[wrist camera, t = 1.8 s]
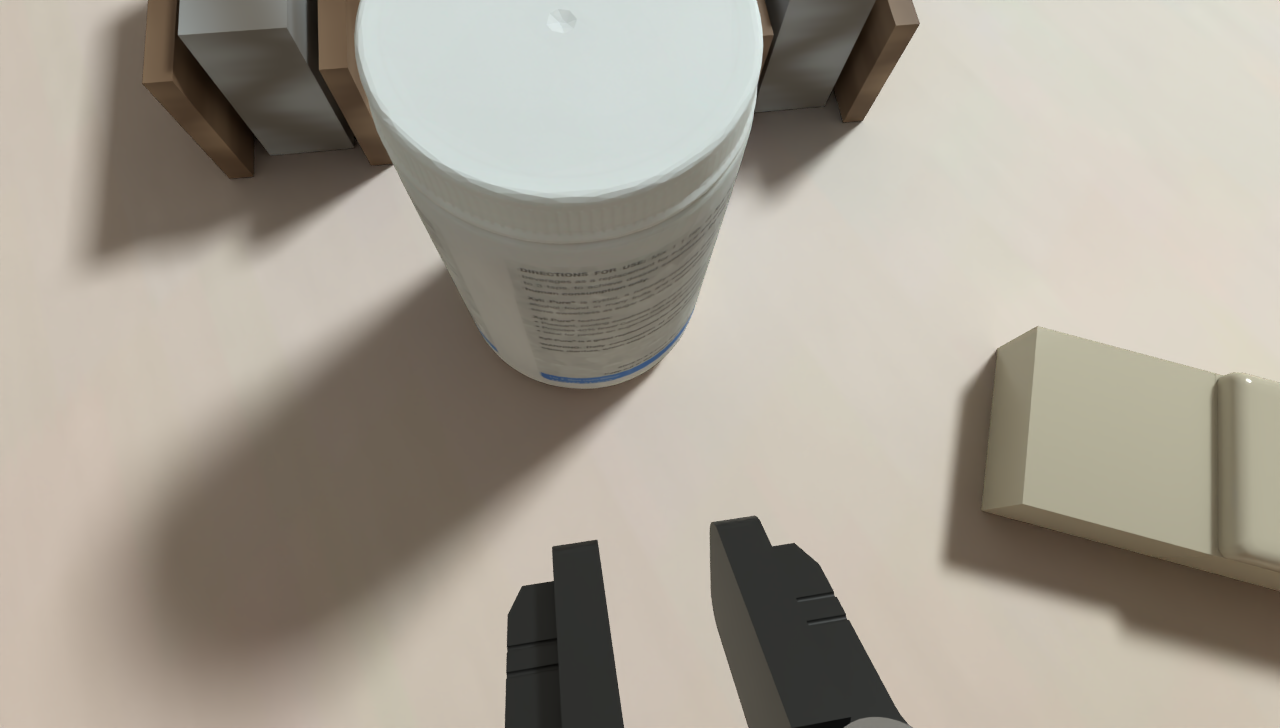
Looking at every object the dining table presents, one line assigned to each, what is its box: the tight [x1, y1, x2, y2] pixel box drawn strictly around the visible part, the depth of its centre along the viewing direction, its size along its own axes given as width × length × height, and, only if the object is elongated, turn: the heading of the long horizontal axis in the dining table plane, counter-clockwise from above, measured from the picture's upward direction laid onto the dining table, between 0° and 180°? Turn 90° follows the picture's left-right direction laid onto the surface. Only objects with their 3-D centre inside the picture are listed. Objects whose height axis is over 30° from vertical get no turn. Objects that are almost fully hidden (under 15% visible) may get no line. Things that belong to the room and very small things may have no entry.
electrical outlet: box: [981, 326, 1280, 591], centre depth 27 cm, size 7×4×18 cm
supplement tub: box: [354, 0, 763, 389], centre depth 22 cm, size 10×10×15 cm
